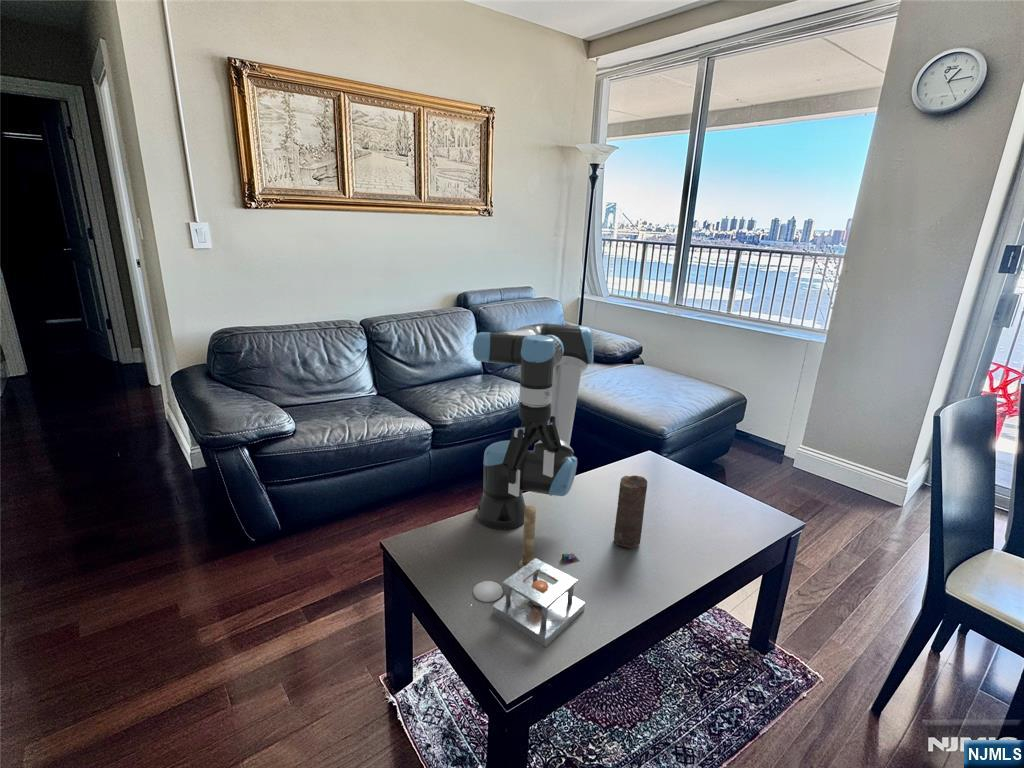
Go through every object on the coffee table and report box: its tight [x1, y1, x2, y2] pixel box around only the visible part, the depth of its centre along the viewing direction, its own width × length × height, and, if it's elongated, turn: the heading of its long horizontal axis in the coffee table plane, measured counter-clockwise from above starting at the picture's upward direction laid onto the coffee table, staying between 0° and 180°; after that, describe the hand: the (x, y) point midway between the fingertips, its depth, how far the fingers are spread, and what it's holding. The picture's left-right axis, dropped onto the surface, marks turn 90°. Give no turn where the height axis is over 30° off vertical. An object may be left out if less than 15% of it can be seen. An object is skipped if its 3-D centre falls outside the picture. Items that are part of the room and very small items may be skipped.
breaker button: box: [532, 580, 548, 607], centre depth 117 cm, size 4×4×4 cm
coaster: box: [472, 580, 504, 603], centre depth 124 cm, size 7×7×1 cm
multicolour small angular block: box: [561, 552, 581, 564], centre depth 137 cm, size 4×3×2 cm, turn 114°
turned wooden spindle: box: [518, 505, 537, 570], centre depth 132 cm, size 4×4×17 cm
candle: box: [613, 475, 648, 549], centre depth 143 cm, size 8×7×20 cm
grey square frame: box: [491, 557, 586, 648], centre depth 118 cm, size 15×15×8 cm
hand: (531, 484), depth 127 cm, fingers open, 13 cm apart
